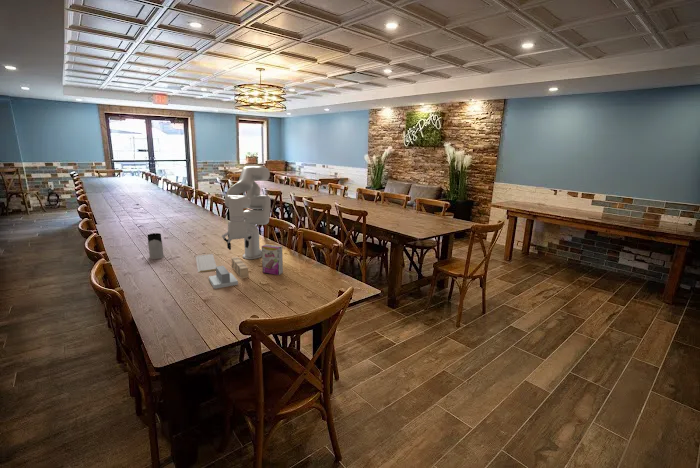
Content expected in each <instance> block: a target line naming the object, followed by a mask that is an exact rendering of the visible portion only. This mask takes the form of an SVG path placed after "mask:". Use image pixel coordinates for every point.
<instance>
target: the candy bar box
mask: <svg viewBox="0 0 700 468" xmlns="http://www.w3.org/2000/svg"><path fill="white" fill-rule="evenodd" d="M261 250H262V257H261V267H262V274H268V275H274V276H280V275H282V274H283V273H284V269H283V268H284V267H283V265H284V264H283V261H284V260H283V258H284V257H283V246H281V245H276V244H275V245H274V244H269V243H266V244H263V245H261Z"/></svg>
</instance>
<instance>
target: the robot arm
mask: <svg viewBox="0 0 700 468" xmlns="http://www.w3.org/2000/svg"><path fill="white" fill-rule="evenodd" d="M270 175H271V172H270V169H269V168H268V167H265V166H261V165H255V166H254V165H247V166H244V167H243V168H242V169H241V172H240V176H239V179H238V181H237V182H236V183H235V184H232V185H231V186H230V187H229V188H228V189H227V191H226V194H225V197H224V205H225V207H227V208H228V209H229V211H228V212H229V221H228V223H227V232H225V233H224V234H222V235H221V238H222V239H223V241H225V242H226V245H227V249H228V250H229V251H231V249H232V246H231V242H232V241H233V240H241V239H243V242H244V253H243V254H242V258H243V259H246V260H256V259H260V258H262V249H260V231H259V230H260V229H259V228H258V226H257V225H261V226H262V225H263V226H264V225H265V226H266V225H267V224H269V222H270V217H271V205H272V203H271V202H272V201H271V198H270V196H269V195H268V194H261V187H260V186H259V184H258V183H257V182H256V181H258V182H259V181H262V182H267V181H269V180H270ZM245 192H246V194H245V195H242V193H245ZM240 194H241V195H240ZM244 209H245V210H244ZM226 237H227V238H226Z"/></svg>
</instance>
